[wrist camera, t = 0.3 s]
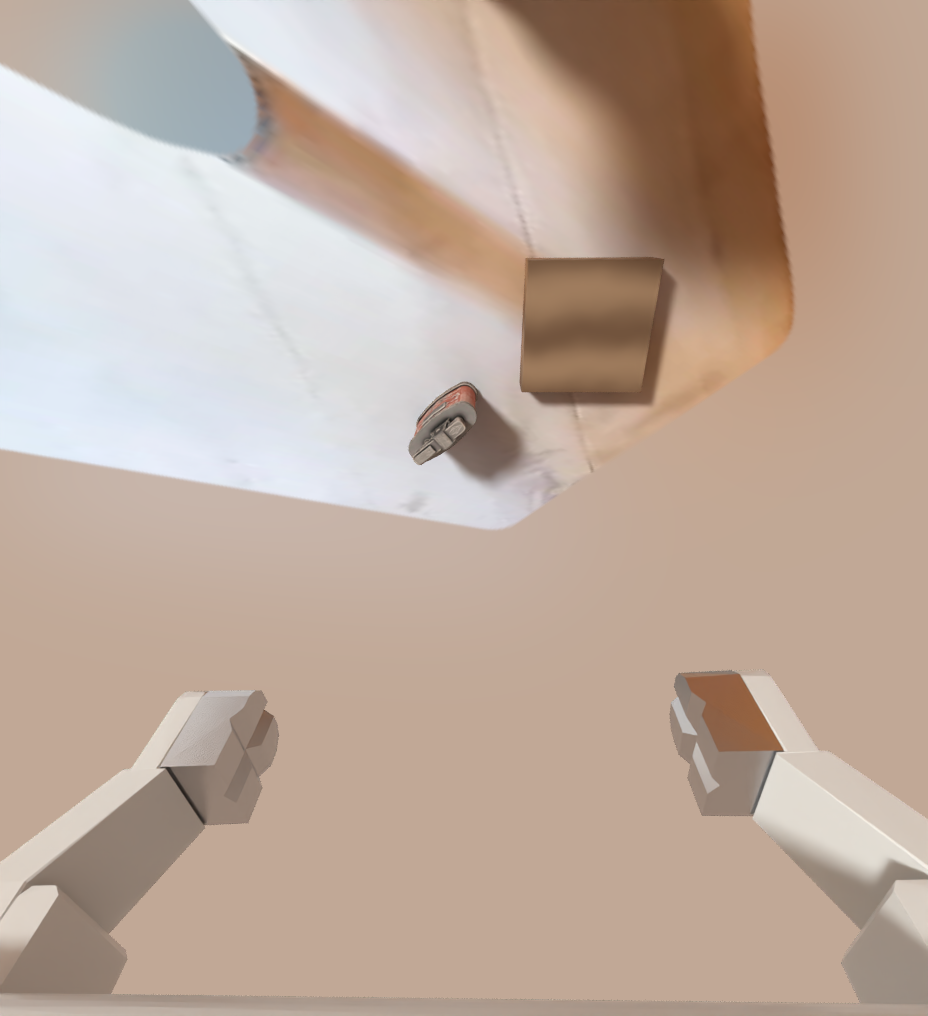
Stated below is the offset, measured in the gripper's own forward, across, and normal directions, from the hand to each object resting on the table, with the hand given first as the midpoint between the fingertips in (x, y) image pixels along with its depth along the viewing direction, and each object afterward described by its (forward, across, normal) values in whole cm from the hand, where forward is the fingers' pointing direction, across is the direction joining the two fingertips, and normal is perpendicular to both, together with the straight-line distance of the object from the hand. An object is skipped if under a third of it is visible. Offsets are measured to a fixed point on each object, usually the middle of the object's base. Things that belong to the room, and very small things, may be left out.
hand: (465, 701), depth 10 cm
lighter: (+46, +4, +9) cm, 47 cm away
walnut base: (+46, -10, +1) cm, 47 cm away
